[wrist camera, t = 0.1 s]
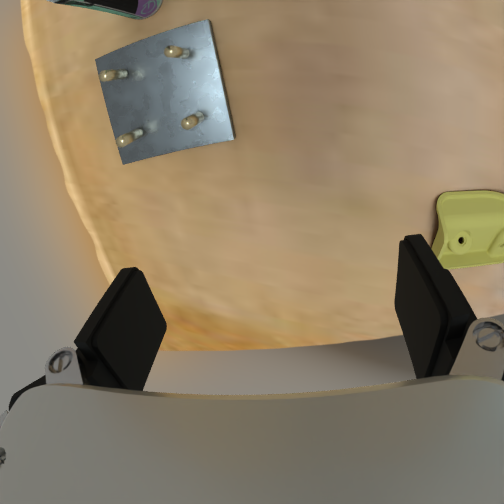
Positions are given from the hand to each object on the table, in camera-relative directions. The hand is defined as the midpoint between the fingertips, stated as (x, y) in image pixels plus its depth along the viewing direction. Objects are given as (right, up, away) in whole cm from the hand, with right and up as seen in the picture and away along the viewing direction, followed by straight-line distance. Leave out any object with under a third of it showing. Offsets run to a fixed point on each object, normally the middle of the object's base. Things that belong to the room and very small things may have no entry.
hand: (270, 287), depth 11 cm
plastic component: (+36, +6, +30) cm, 47 cm away
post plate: (-12, +22, +25) cm, 35 cm away
